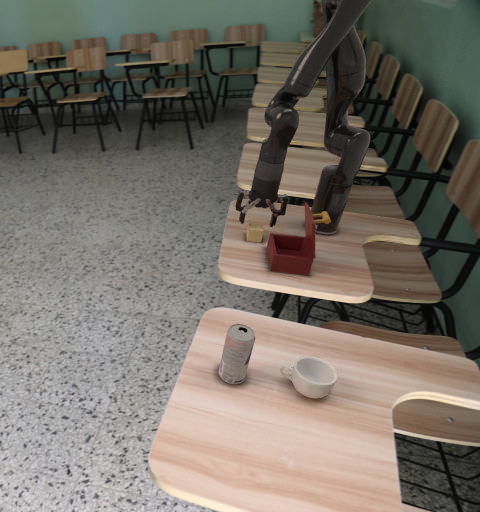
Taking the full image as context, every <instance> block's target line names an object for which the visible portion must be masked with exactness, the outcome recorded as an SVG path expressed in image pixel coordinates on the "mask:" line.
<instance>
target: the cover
mask: <svg viewBox="0 0 480 512" xmlns="http://www.w3.org/2000/svg"><path fill="white" fill-rule="evenodd" d="M313 217H322V218H323V219H320V220H314V219H313ZM330 222H331V220H330V218H329V215H328V213H327V212H326V211H324V212H322V213H320V214H311V207H310V205H309V202H304V235H305V236H304V237H306V239H307V243H308V246H309V249H310V252H311V255H312V258H313V259H316V233H315V223H325V224H329V223H330Z"/></svg>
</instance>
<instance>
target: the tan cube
mask: <svg viewBox="0 0 480 512" xmlns="http://www.w3.org/2000/svg"><path fill="white" fill-rule="evenodd" d="M246 229H247V230H246V234H245V235H246V241H247V242H254V243H262V242H263V241H262V240H263V236H264V232H265V231H264V224H263V223H254V222H253V223H252V222H248V224H247V228H246Z"/></svg>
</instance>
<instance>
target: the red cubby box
mask: <svg viewBox="0 0 480 512" xmlns="http://www.w3.org/2000/svg"><path fill="white" fill-rule="evenodd" d="M267 240H268V241H267V244H266V254H267V259H268V265H269V270H270V272H275V273H284V274H293V275H298V276H299V275H301V276H309V275H310V272H311V269H312V265H313V263H314V258H312V255H311V252H310V249H309V246H308V243H307V239H306V236H301V235H290V234H282V233H273V232H270V233H269V236H268V239H267Z"/></svg>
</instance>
